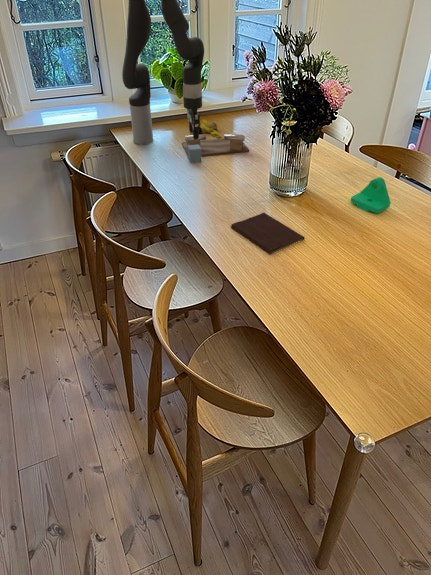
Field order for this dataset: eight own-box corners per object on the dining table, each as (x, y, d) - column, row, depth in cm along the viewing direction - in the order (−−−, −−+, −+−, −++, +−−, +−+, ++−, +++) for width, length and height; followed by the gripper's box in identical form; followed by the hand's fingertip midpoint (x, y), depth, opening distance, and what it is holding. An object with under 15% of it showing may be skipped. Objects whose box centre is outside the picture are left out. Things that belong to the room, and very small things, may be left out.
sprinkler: (182, 121, 221) (208, 115, 227) (182, 128, 224) (207, 122, 230) (203, 138, 210) (229, 131, 217) (202, 146, 213) (228, 139, 219)
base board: (181, 144, 209) (181, 131, 205) (239, 139, 214) (239, 126, 211) (188, 157, 197) (188, 144, 193) (249, 151, 202) (249, 138, 199)
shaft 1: (185, 140, 201) (185, 135, 200) (204, 138, 203) (204, 133, 202) (186, 142, 200) (186, 137, 198) (205, 140, 201) (205, 135, 200)
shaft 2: (225, 138, 203) (225, 133, 202) (244, 140, 202) (244, 134, 200) (224, 140, 201) (224, 135, 200) (243, 142, 200) (244, 136, 199)
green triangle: (348, 203, 165) (354, 177, 158) (360, 197, 169) (366, 171, 162) (376, 216, 158) (383, 189, 151) (388, 209, 162) (396, 183, 155)
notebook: (264, 216, 158) (264, 211, 157) (304, 240, 146) (305, 235, 144) (230, 229, 151) (231, 224, 150) (269, 256, 139) (270, 250, 137)
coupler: (187, 158, 196) (187, 145, 192) (198, 157, 197) (198, 144, 193) (190, 163, 192) (189, 149, 189) (201, 162, 193) (201, 148, 190)
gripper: (180, 90, 182) (182, 130, 192) (186, 100, 171) (188, 142, 181) (198, 89, 184) (199, 129, 194) (205, 99, 173) (206, 140, 183)
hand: (194, 135), depth 188 cm, fingers open, 8 cm apart
